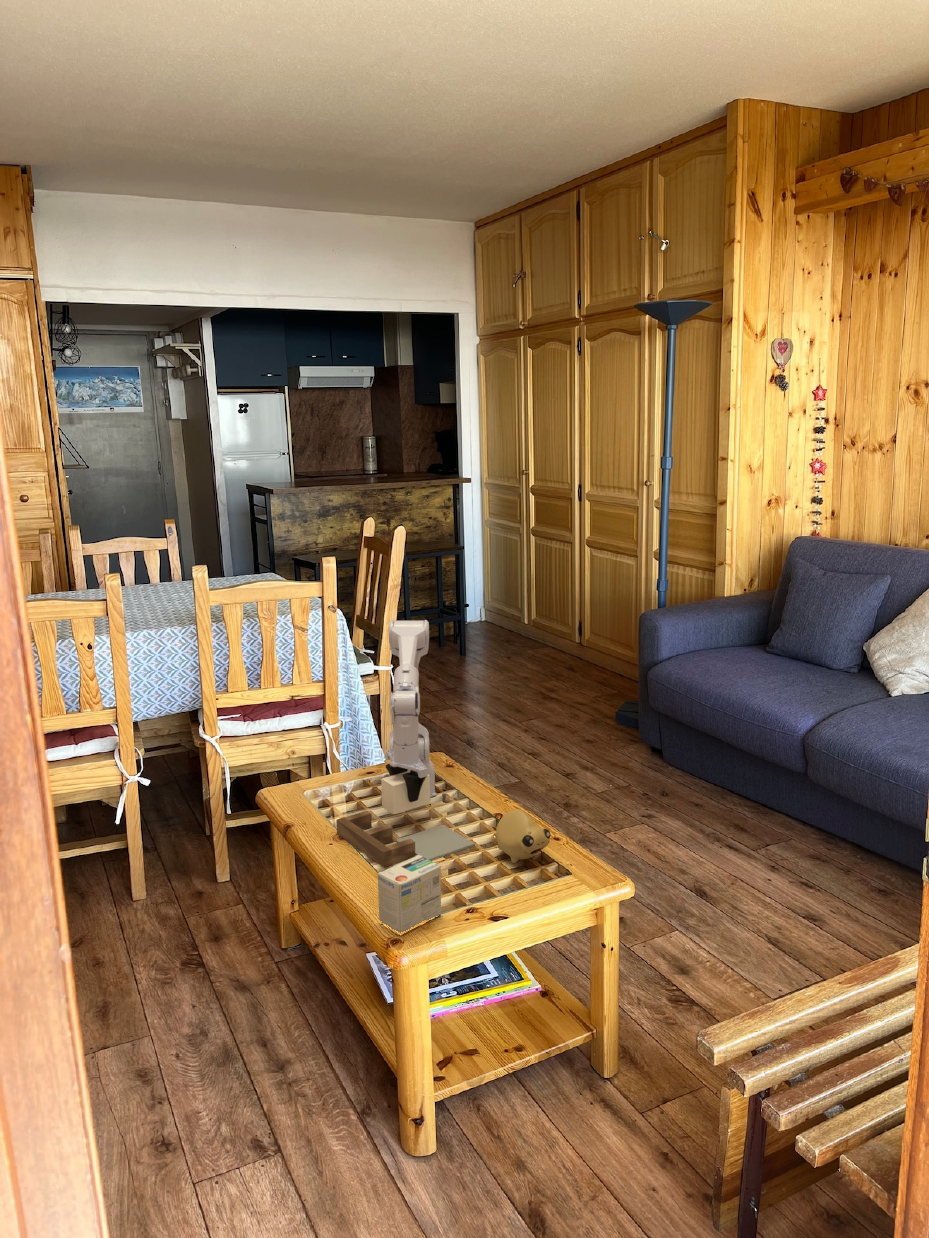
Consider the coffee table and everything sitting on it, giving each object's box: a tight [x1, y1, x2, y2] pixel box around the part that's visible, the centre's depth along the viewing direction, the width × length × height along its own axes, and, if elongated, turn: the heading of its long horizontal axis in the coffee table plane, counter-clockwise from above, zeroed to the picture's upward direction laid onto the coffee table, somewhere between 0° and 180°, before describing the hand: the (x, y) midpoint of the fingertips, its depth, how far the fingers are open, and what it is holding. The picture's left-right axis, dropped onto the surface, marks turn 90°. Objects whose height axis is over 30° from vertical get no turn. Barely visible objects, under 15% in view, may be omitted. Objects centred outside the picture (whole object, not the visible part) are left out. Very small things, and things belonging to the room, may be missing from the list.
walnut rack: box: [336, 810, 416, 868], centre depth 211 cm, size 8×20×4 cm, turn 37°
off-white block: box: [380, 771, 431, 815], centre depth 220 cm, size 10×5×7 cm, turn 127°
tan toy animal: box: [495, 808, 552, 863], centre depth 204 cm, size 10×12×11 cm
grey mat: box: [395, 824, 476, 862], centre depth 212 cm, size 13×12×1 cm
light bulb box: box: [377, 855, 442, 933], centre depth 180 cm, size 11×7×11 cm, turn 134°
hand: (406, 796), depth 220 cm, fingers closed on off-white block, 5 cm apart
